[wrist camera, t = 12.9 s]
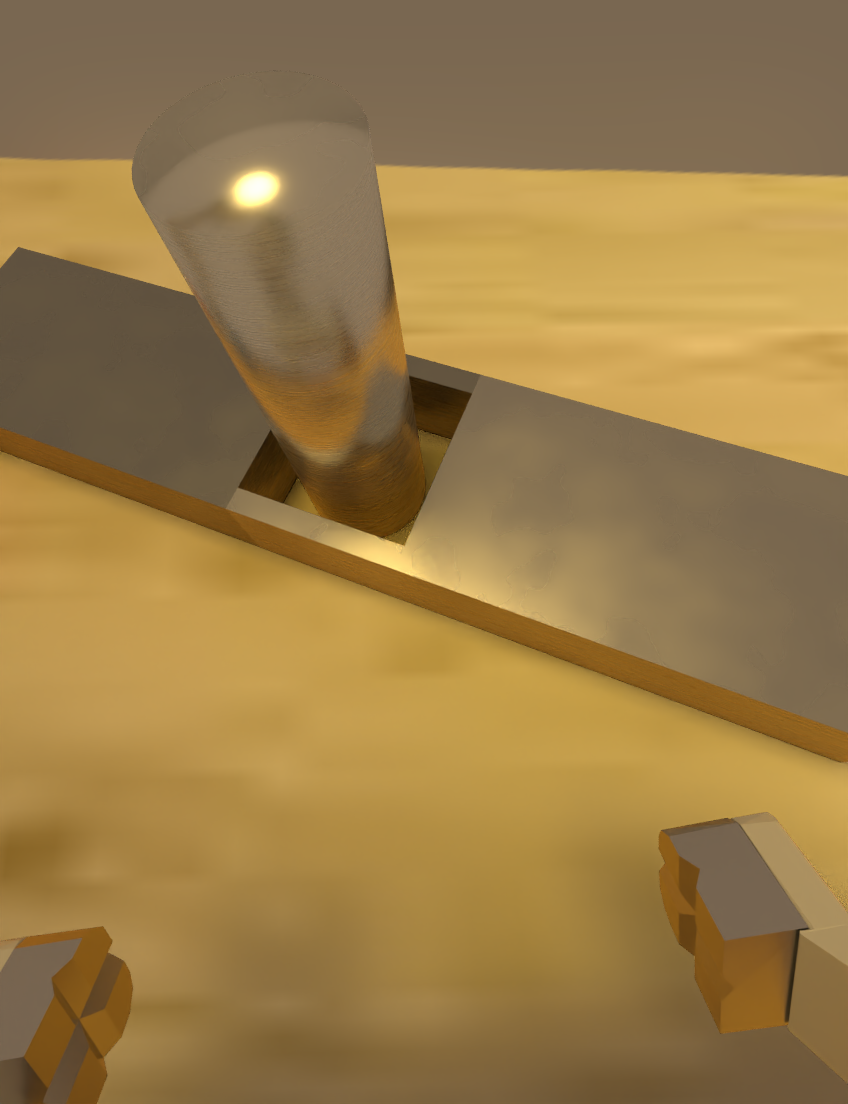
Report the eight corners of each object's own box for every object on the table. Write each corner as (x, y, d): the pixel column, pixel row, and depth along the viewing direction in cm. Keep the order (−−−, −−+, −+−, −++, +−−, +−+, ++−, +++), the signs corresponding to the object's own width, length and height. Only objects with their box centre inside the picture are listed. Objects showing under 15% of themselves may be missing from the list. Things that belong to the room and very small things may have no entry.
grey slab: (-34, 438, 23) (-103, 390, 20) (68, 306, 25) (18, 247, 22) (840, 762, 16) (914, 756, 14) (873, 545, 19) (943, 502, 16)
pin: (294, 518, 21) (85, 206, 10) (342, 426, 22) (206, 56, 11) (399, 555, 20) (303, 260, 9) (442, 457, 21) (406, 91, 10)
